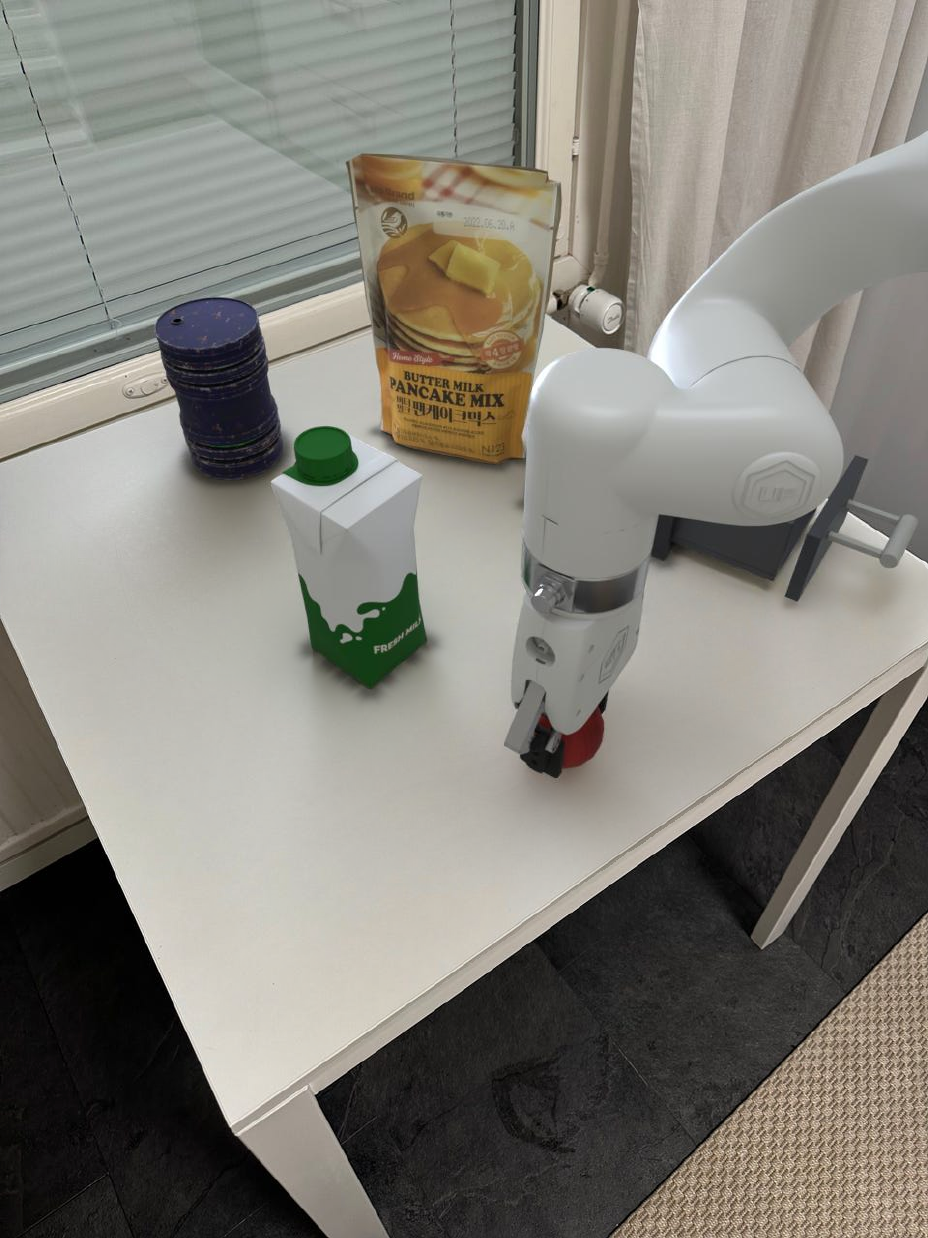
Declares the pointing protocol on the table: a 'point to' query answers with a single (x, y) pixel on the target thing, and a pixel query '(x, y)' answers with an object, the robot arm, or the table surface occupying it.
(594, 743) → the onion
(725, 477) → the robot arm
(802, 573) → the drawer
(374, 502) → the milk carton
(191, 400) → the navy blue cylinder
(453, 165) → the pancake mix bag
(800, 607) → the table surface
